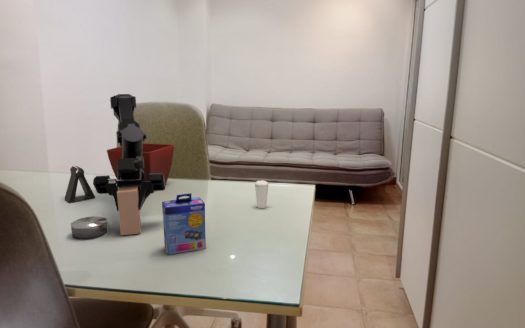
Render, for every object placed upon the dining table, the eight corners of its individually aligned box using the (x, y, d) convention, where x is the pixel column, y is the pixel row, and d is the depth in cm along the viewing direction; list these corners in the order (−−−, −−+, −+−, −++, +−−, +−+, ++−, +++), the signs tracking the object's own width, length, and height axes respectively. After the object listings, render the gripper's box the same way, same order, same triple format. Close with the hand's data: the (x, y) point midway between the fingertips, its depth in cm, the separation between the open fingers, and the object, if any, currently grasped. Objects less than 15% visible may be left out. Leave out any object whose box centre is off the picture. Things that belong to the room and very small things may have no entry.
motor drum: (109, 226, 110) (108, 215, 109) (105, 238, 102) (104, 225, 101) (76, 229, 108) (74, 217, 107) (68, 241, 99) (67, 229, 99)
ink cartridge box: (167, 256, 90) (163, 197, 87) (163, 247, 95) (159, 191, 92) (207, 248, 94) (205, 192, 91) (201, 241, 99) (199, 187, 96)
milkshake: (269, 209, 124) (269, 180, 122) (253, 208, 125) (253, 179, 123) (272, 205, 128) (271, 177, 127) (256, 204, 130) (256, 176, 128)
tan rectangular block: (141, 227, 108) (137, 186, 106) (140, 233, 104) (136, 191, 101) (122, 228, 107) (119, 187, 105) (120, 235, 103) (116, 192, 100)
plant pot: (151, 195, 142) (148, 151, 139) (109, 192, 147) (105, 149, 144) (177, 183, 160) (175, 144, 157) (138, 181, 165) (135, 142, 162)
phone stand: (69, 203, 133) (65, 170, 131) (64, 199, 138) (60, 167, 136) (95, 198, 139) (92, 166, 137) (90, 195, 144) (87, 164, 141)
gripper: (91, 147, 103) (84, 197, 95) (161, 145, 106) (161, 193, 98) (100, 169, 112) (95, 217, 104) (165, 166, 115) (164, 212, 107)
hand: (128, 210), depth 103 cm, fingers closed on tan rectangular block, 5 cm apart
